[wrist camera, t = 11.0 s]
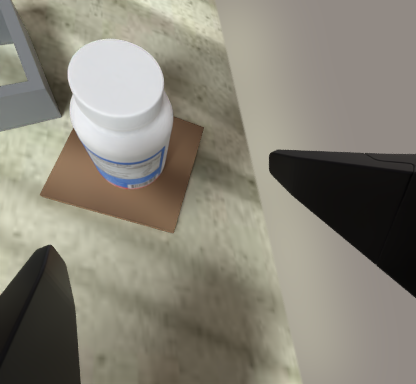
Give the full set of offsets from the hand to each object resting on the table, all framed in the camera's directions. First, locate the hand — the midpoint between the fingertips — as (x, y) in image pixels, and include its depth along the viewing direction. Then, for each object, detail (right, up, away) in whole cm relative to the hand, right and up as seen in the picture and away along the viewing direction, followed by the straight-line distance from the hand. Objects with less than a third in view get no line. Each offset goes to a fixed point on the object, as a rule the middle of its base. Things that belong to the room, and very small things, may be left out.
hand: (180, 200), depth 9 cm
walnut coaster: (-5, +3, +11) cm, 12 cm away
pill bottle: (-5, +3, +10) cm, 12 cm away
